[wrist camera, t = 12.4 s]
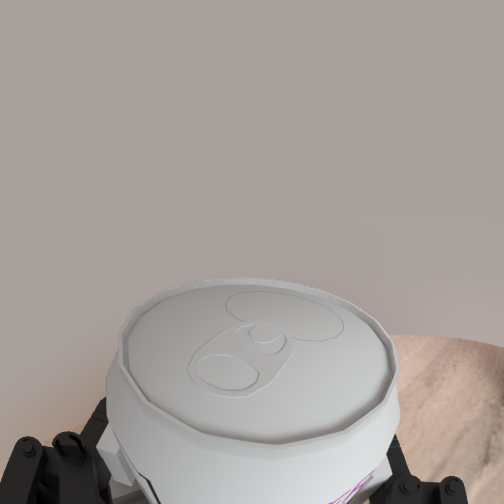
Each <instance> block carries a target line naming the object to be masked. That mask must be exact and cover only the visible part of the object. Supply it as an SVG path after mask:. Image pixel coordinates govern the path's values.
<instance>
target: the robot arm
mask: <svg viewBox="0 0 504 504" xmlns="http://www.w3.org/2000/svg"><path fill="white" fill-rule="evenodd" d="M52 445H53V447H54V448H53V447H47V446H42V445H41V443H40V442H39V441H38V440H37V439H35V438H34V437H29V436H27V437H22V438H21V439H19V440H18V441H17V443H16V444H15V447H14V449H13V451H12V454H11V456H10V458H9V461H8V463H7V466H6V469H5V471H4V474H3V476H2V479H1V482H0V504H113V501H112V494H111V487H110V484H109V480H110V478H111V475H112V477H113V479H114V480H115V481H117V482H120V483H123V484H126V485H129V486H133V483H134V480H135V477H134V475H133V473H132V471H131V469H130V467H129V465H128V463H127V461H126V459H125V457H124V455H123V453H122V451H121V449H120V446H119V444H118V442H117V440H116V437H115V435H114V433H113V430H112V428H111V425H110V423H109V421H108V418H107V407H106V397H105V398H103V399H102V400H101V401H100V402H99V404H98V406H97V407H96V409H95V411H94V412H93V414H92V416H91V418H90V419H89V420H88V422H87V424H86V425H85V427H84V429H83V430H82V432H81V434H80V435H78V434H77V433H74V432H70V431H68V432H62V433H60V434H58V435H56V437H55V438H54V439H53V442H52ZM367 499H369V503H370V504H468V501H467V496H466V491H465V487H464V484H463V482H462V480H461V479H460V478H458V477H455V476H449V477H446V478H444V479H443V480H442V481H441V482H440V483H439V482H421V481H420V479H418V478H417V477H416V476H413V475H411V473H410V471H409V469H408V466H407V463H406V460H405V458H404V455H403V452H402V450H401V447H400V444H399V442H398V440H397V436H396V434H394V437H393V439H392V441H391V444H390V446H389V448H388V451H387V453H386V455H385V457H384V459H383V460H382V462H381V463H380V464H379V466H378V467H377V468H376V469H375V471H374V472H373V473H372V474H371V476H370V477H369V478H368V479H367V480H366V482H365V483H364V484H363V485H362V486H361V487H360V489H359V490H358V491H357V492H356V493H355V494H354V495H353V496H352V498H351V499H350V500H349V501H348V502H347V503H346V504H363V503H364V502H365V501H366V500H367Z"/></svg>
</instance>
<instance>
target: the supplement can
mask: <svg viewBox="0 0 504 504" xmlns="http://www.w3.org/2000/svg"><path fill="white" fill-rule="evenodd" d="M399 372H400V367H399V362H398V357H397V352H396V347H395V343H394V341H393V340H392V339H391V337H390V336H389V335H388V334H387V332H386V331H385V330H384V329H383V327H382V326H381V325H380V323H379V322H378V321H377V320H376V319H374V318H373V317H372V316H370V315H369V314H367V313H366V312H364V311H363V310H361V309H360V308H358V307H357V306H356V305H354V304H353V303H351V302H349V301H346V300H344V299H342V298H339V297H337V296H335V295H332V294H330V293H327V292H325V291H323V290H319V289H316V288H312V287H307V286H304V285H300V284H296V283H292V282H287V281H279V280H270V279H262V278H216V279H209V280H203V281H196V282H189V283H185V284H182V285H180V286H177V287H174V288H171V289H168V290H165V291H162V292H159V293H157V294H156V295H154V296H152V297H151V298H150V299H148V300H147V301H145V302H144V303H142V304H141V305H139V306H138V307H136V308H135V309H134V310H133V311H132V313H131V314H130V316H129V317H128V319H127V320H126V322H125V323H124V325H123V327H122V328H121V330H120V331H119V348H118V350H117V353H116V355H115V357H114V360H113V363H112V365H111V367H110V370H109V372H108V375H107V377H106V407H107V418H108V421H109V423H110V425H111V428H112V430H113V433H114V435H115V437H116V440H117V442H118V444H119V446H120V449H121V451H122V453H123V455H124V457H125V459H126V461H127V463H128V465H129V467H130V469H131V471H132V473H133V475H134V477H135V479H136V481H137V482H138V484H139V486H140V488H141V490H142V491H143V493H144V495H145V497H146V498H147V500H148V502H149V503H150V504H346V503H347V502H348V501H349V500H350V499H351V498H352V496H353V495H354V494H355V493H356V492H357V491H358V490H359V489H360V487H361V486H362V485H363V484H364V483H365V482H366V480H367V479H368V478H369V477H370V476H371V474H372V473H373V472H374V471H375V469H376V468H377V467H378V466H379V464H380V463H381V462H382V460H383V459H384V457H385V455H386V453H387V451H388V448H389V446H390V444H391V441H392V439H393V437H394V434H395V432H396V429H397V427H398V424H399V421H400V412H399V403H398V395H397V387H396V380H397V377H398V375H399Z"/></svg>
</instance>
